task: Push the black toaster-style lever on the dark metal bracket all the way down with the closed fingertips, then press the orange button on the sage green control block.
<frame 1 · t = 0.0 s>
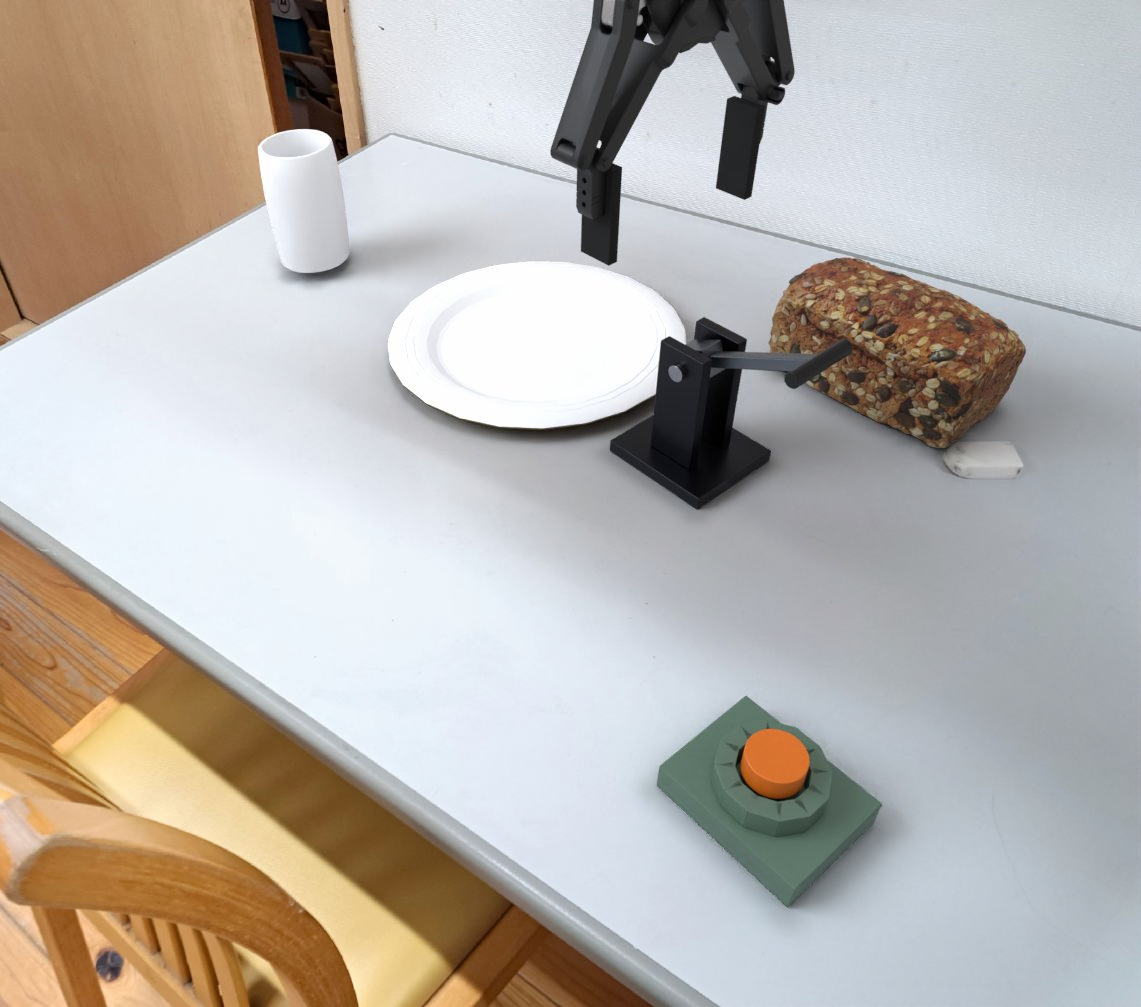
hand: (668, 223, 67), 22 cm above the table, tool pointing down, fingers open, 13 cm apart
control block: (762, 803, 58), on the table
plate: (535, 351, 95), on the table
button: (774, 763, 55), point 4 cm above the table, slide at 0.1 cm
lever: (752, 360, 71), point 12 cm above the table, hinge at 25.0°
cup: (317, 266, 110), on the table
bread: (879, 389, 88), on the table
bracket: (688, 456, 82), on the table
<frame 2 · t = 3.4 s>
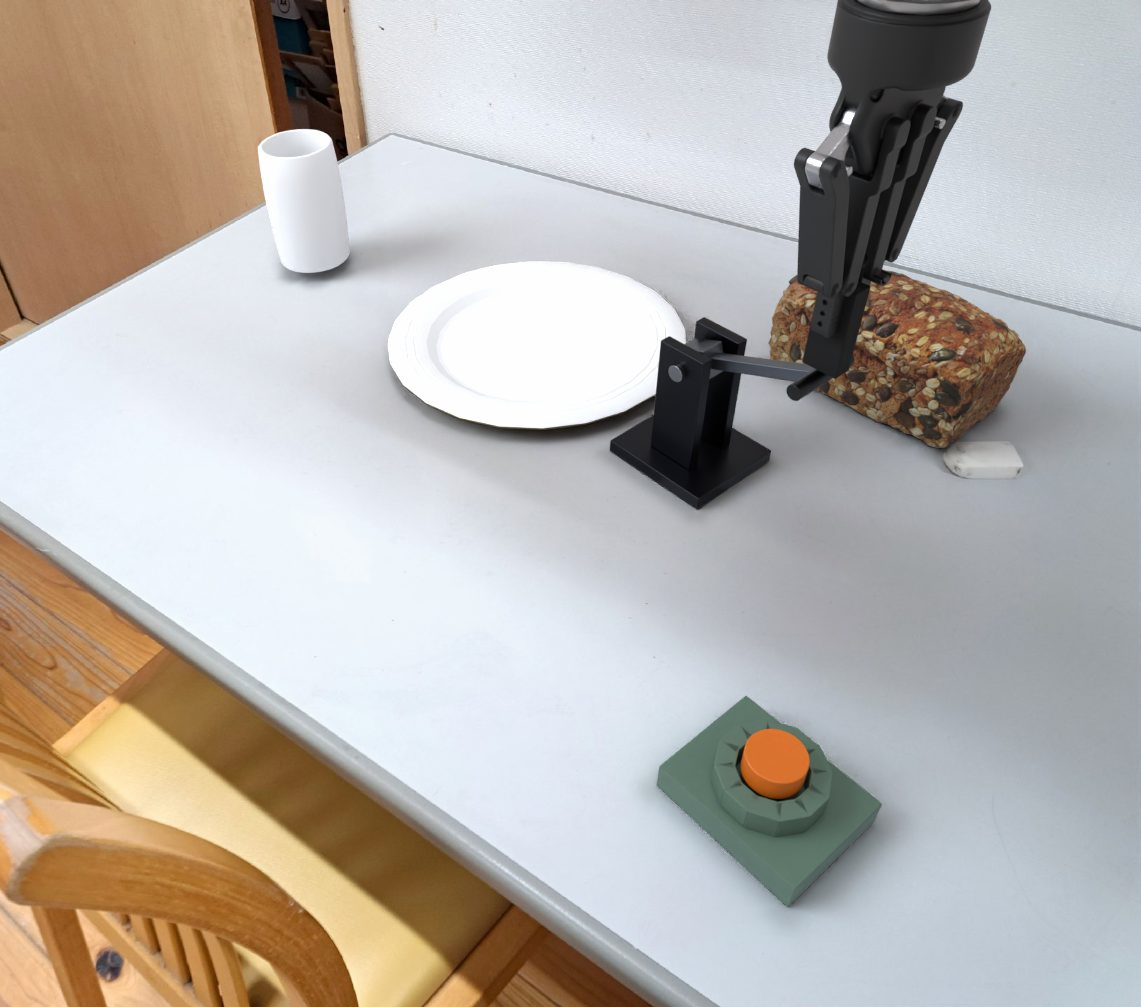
hand: (825, 365, 66), 15 cm above the table, tool pointing down, fingers closed
lever: (753, 366, 71), point 12 cm above the table, hinge at 20.2°, touching gripper
everything else where it was.
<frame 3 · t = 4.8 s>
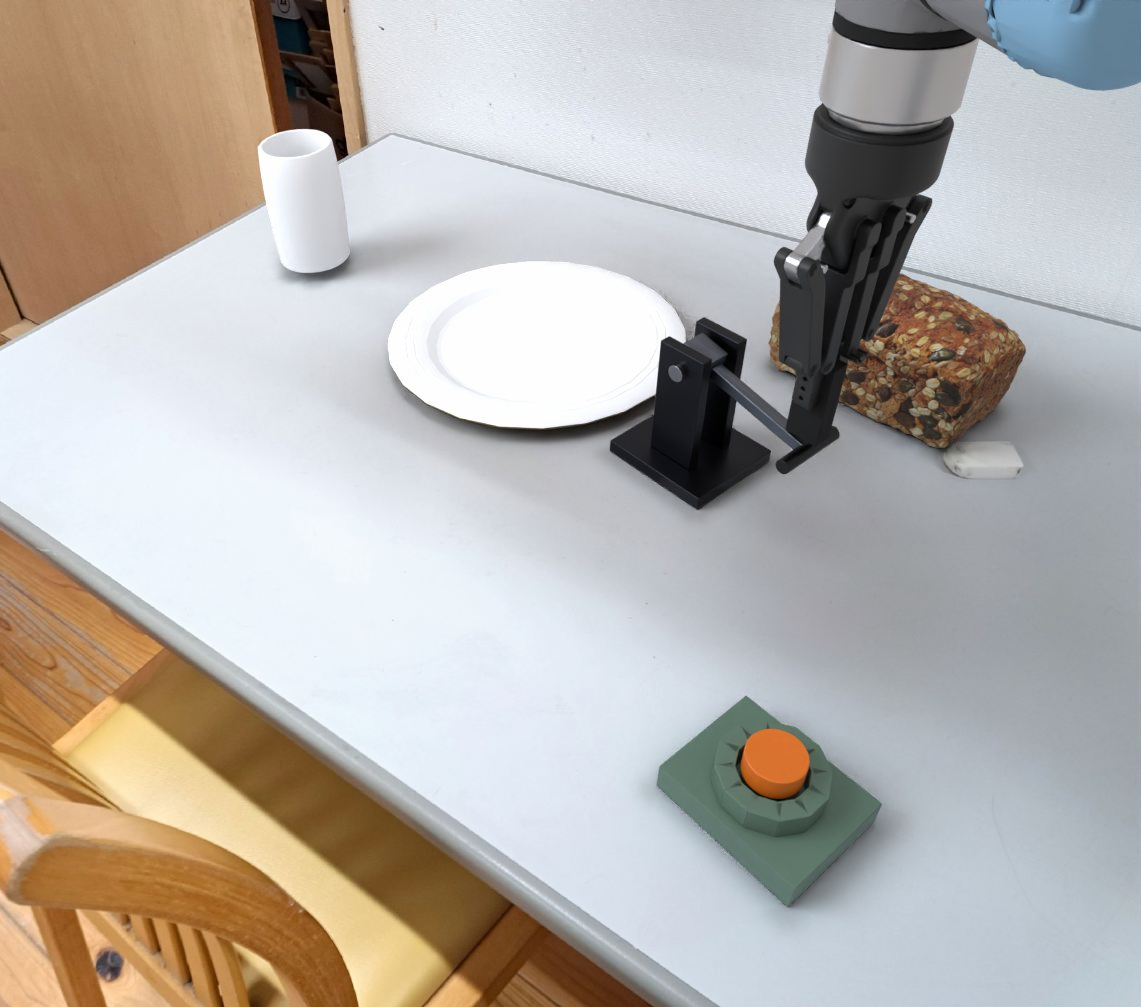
hand: (806, 433, 70), 9 cm above the table, tool pointing down, fingers closed
lever: (749, 399, 73), point 9 cm above the table, hinge at -14.0°, touching gripper
everything else where it was.
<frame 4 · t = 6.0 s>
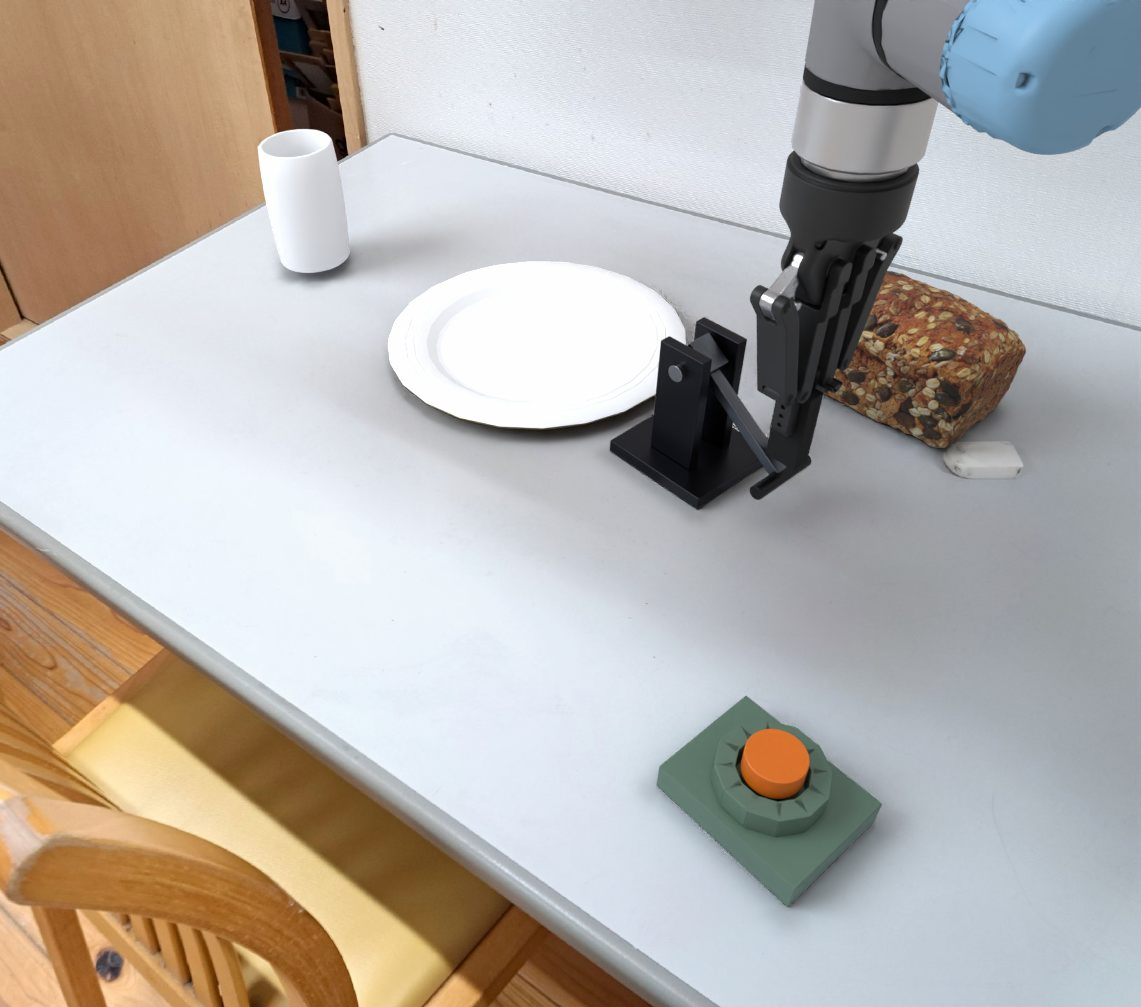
hand: (786, 457, 73), 6 cm above the table, tool pointing down, fingers closed
lever: (737, 412, 75), point 7 cm above the table, hinge at -35.3°, touching gripper
everything else where it was.
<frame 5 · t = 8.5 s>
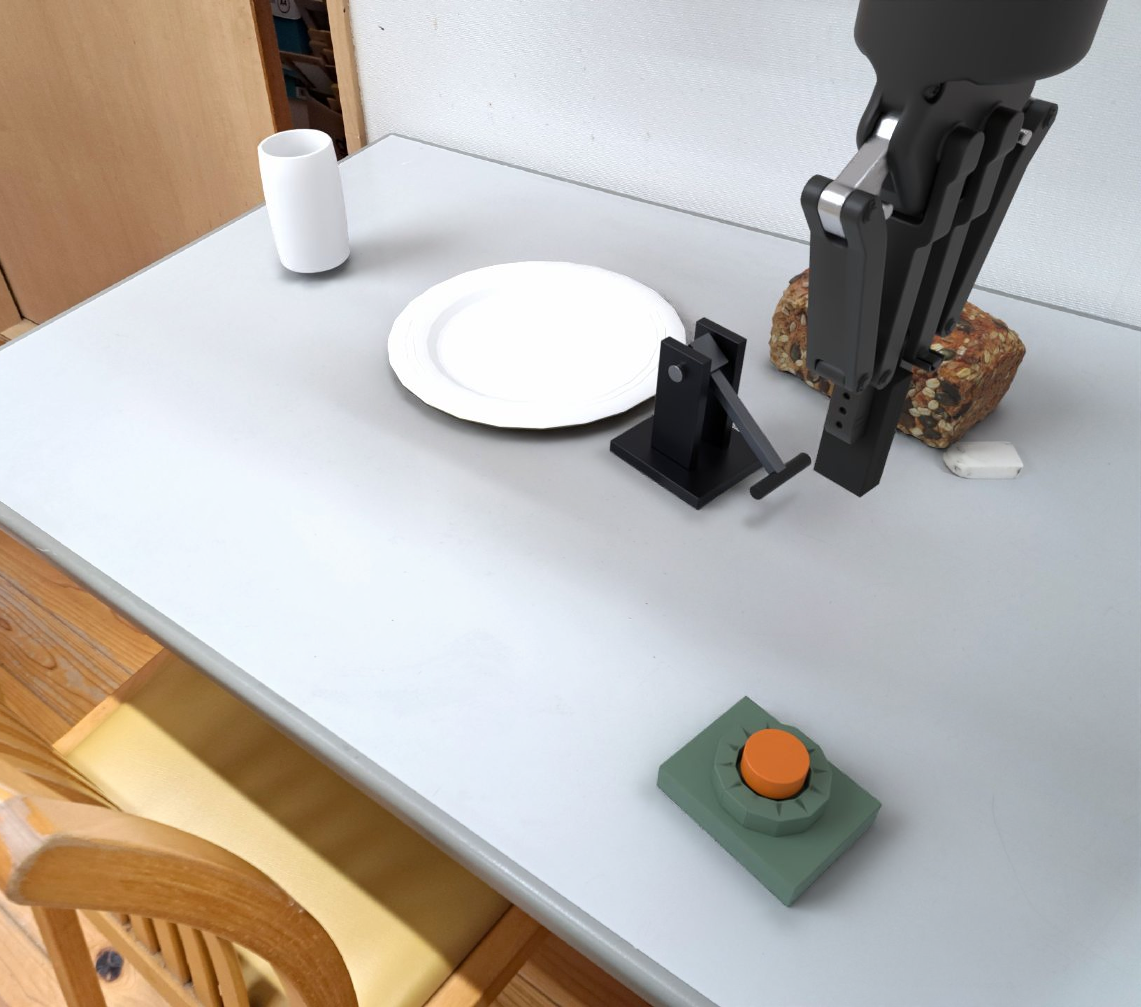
hand: (845, 476, 47), 22 cm above the table, tool pointing down, fingers closed
lever: (737, 412, 75), point 7 cm above the table, hinge at -35.3°
everything else where it was.
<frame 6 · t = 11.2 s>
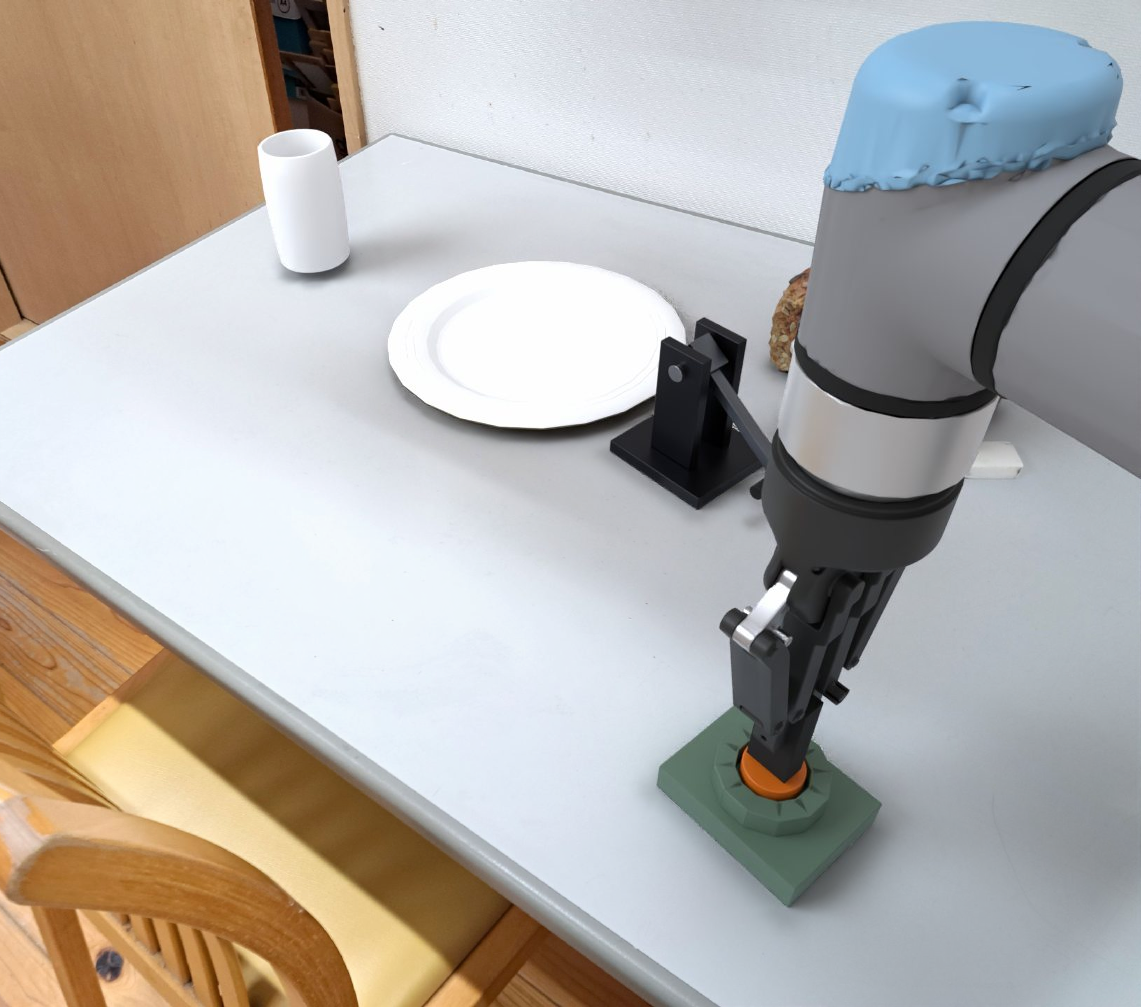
hand: (773, 760, 55), 5 cm above the table, tool pointing down, fingers closed
button: (771, 772, 56), point 4 cm above the table, slide at -0.9 cm, touching gripper
everything else where it was.
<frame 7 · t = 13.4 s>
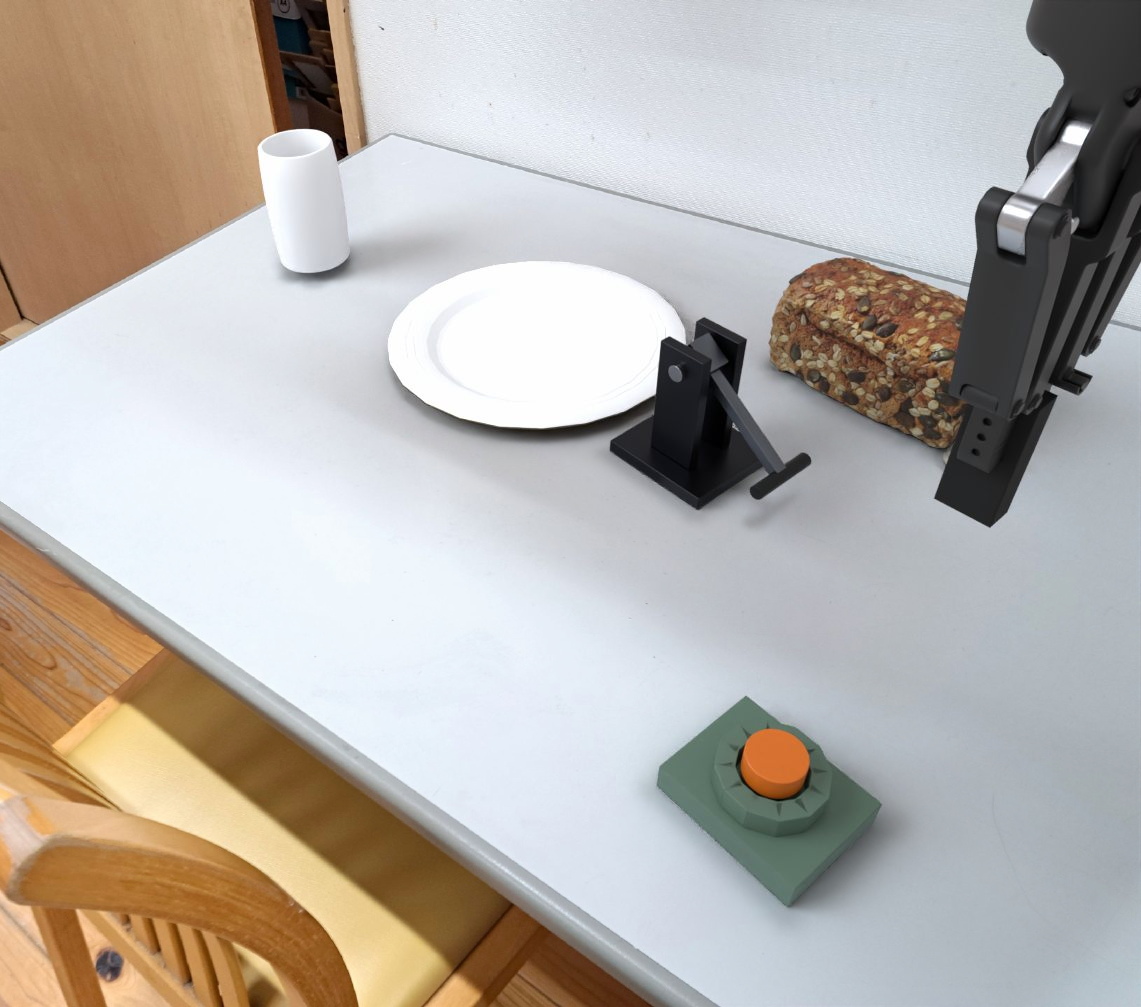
hand: (970, 505, 44), 23 cm above the table, tool pointing down, fingers closed
button: (774, 763, 55), point 4 cm above the table, slide at 0.1 cm
everything else where it was.
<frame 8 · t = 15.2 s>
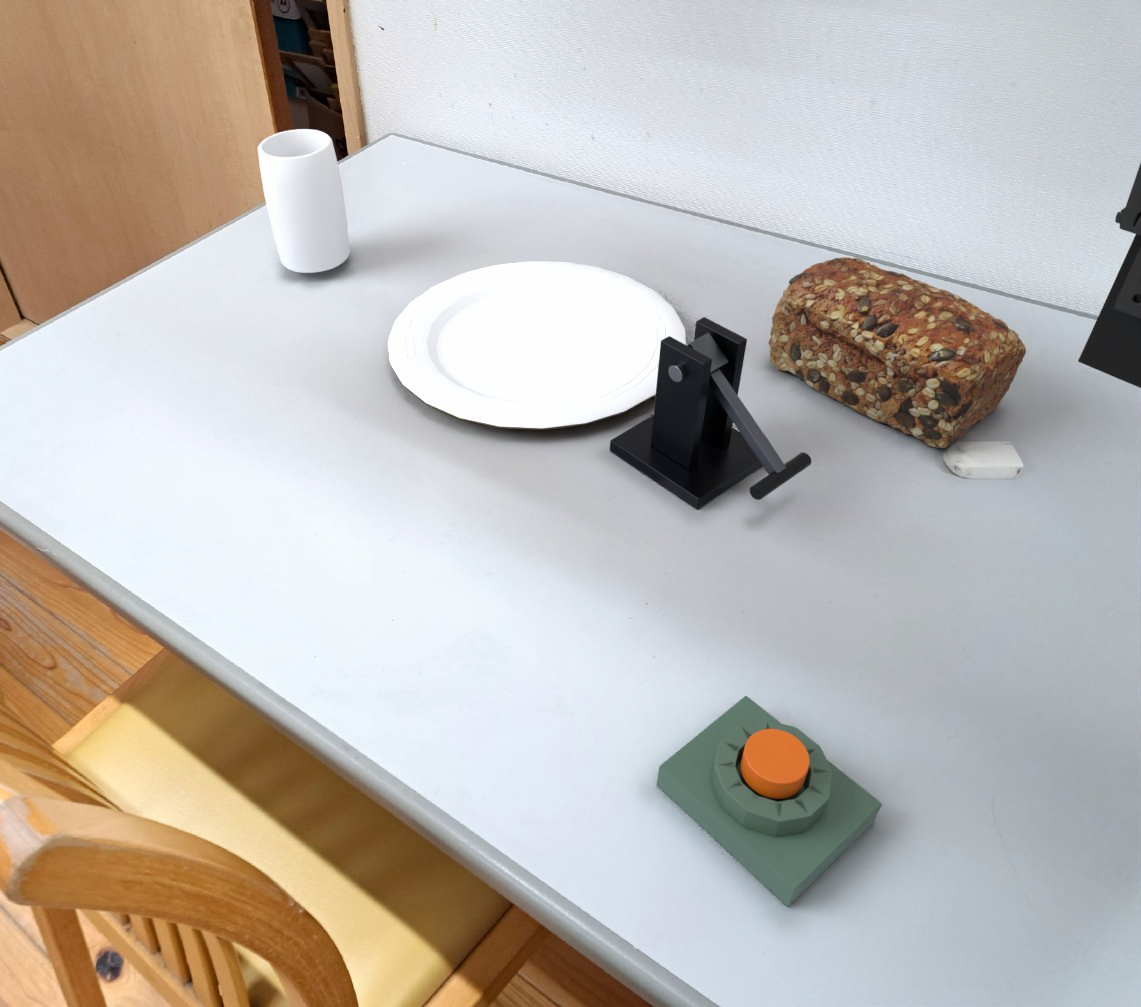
hand: (1117, 367, 41), 28 cm above the table, tool pointing down, fingers closed
nothing on the table moved.
at the end: lever at -35° (first picture: +25°); button pushed in 1.0 cm at the most during the clip, back to where it started at the end; button slide at 0.1 cm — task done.
